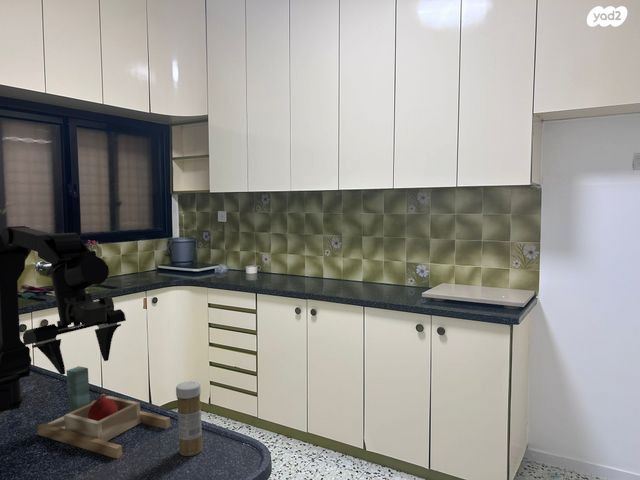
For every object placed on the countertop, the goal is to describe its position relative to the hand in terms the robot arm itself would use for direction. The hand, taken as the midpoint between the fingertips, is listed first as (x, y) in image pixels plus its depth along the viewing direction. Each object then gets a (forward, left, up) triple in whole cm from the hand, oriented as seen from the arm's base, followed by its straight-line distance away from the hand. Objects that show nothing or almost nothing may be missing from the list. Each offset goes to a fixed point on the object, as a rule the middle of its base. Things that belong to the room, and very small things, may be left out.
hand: (85, 367), depth 96 cm
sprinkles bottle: (+12, +20, -16) cm, 28 cm away
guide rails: (-3, +2, -15) cm, 16 cm away
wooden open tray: (-6, 0, -15) cm, 16 cm away
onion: (-4, +2, -16) cm, 16 cm away
